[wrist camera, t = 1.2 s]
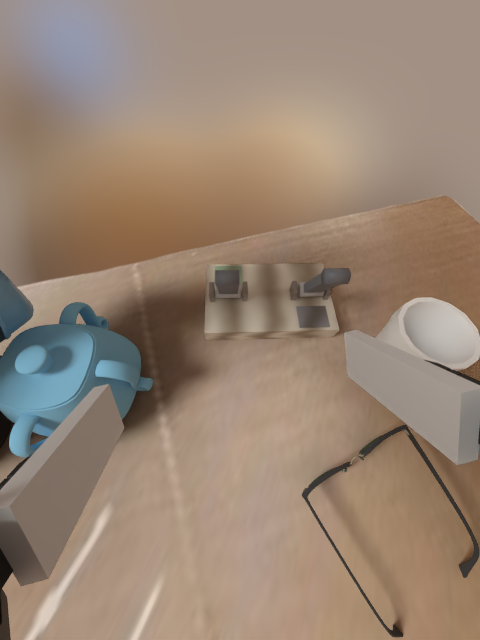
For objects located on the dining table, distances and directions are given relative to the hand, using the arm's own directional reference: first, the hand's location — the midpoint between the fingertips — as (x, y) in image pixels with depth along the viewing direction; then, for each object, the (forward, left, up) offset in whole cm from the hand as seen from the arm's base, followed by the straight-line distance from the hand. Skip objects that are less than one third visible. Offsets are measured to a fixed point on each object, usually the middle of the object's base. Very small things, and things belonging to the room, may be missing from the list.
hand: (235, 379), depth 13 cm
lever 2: (+13, +21, -22) cm, 33 cm away
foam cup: (+24, +8, -25) cm, 36 cm away
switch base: (+6, +20, -25) cm, 33 cm away
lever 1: (-1, +21, -22) cm, 30 cm away
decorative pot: (-21, +6, -25) cm, 34 cm away
